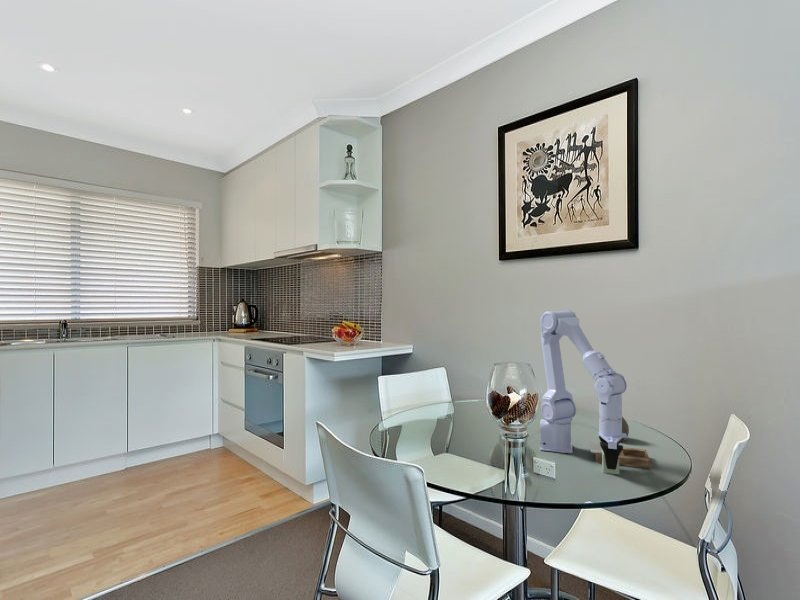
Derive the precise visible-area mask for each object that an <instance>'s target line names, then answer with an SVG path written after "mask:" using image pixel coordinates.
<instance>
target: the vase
mask: <svg viewBox="0 0 800 600" xmlns="http://www.w3.org/2000/svg"><path fill="white" fill-rule="evenodd" d="M629 428H630V427H629V424H628V422H627V420H626V419H625V418H624V416H622V433H625V434H626V435H627V437H629V433H630V432H629V431H630V429H629ZM626 439H627V438H622V439H621V441H620V442H623V441H625V440H626Z"/></svg>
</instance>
